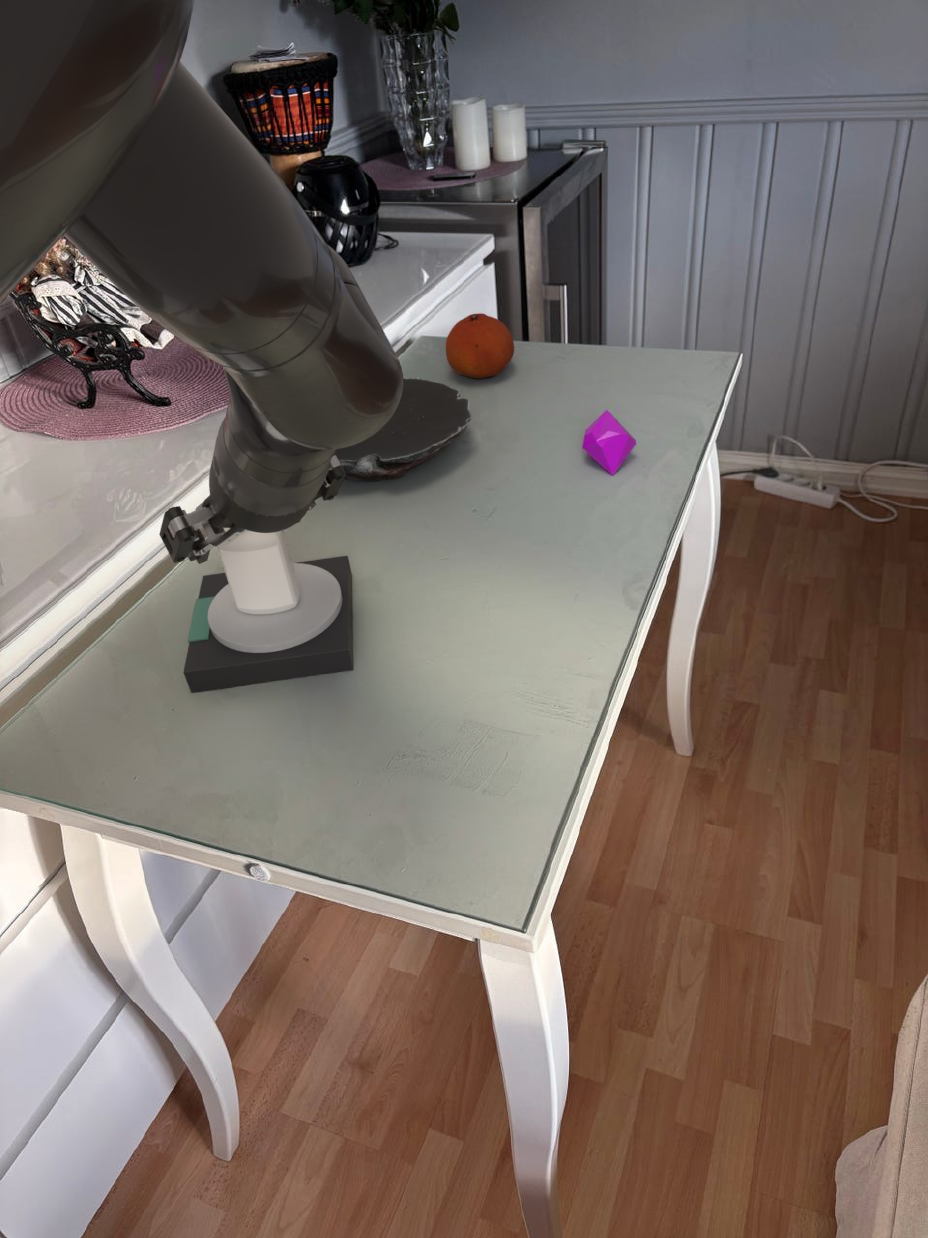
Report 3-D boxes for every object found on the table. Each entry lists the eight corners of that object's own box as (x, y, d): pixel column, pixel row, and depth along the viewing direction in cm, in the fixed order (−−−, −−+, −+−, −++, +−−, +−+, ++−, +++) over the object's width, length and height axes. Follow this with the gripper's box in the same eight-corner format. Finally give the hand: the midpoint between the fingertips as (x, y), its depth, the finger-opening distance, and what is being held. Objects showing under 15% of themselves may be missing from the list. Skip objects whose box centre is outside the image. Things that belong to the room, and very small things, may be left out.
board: (344, 403, 119) (337, 366, 116) (501, 417, 112) (498, 378, 109) (256, 490, 104) (245, 450, 101) (431, 513, 96) (426, 471, 93)
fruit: (441, 388, 120) (434, 329, 115) (459, 359, 127) (453, 302, 121) (506, 390, 118) (502, 330, 113) (521, 361, 124) (518, 303, 119)
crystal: (576, 461, 102) (575, 424, 99) (610, 443, 104) (610, 406, 101) (609, 477, 99) (609, 439, 96) (644, 458, 101) (645, 421, 98)
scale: (189, 693, 78) (179, 665, 76) (208, 595, 89) (199, 568, 87) (353, 670, 78) (346, 641, 76) (351, 575, 89) (346, 548, 87)
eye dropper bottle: (278, 625, 79) (244, 508, 71) (229, 610, 81) (191, 494, 74) (309, 597, 81) (279, 480, 74) (260, 582, 84) (227, 468, 76)
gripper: (197, 551, 59) (185, 606, 74) (385, 473, 65) (338, 539, 80) (145, 449, 59) (143, 525, 74) (336, 380, 65) (299, 463, 80)
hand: (244, 532), depth 77 cm, fingers open, 8 cm apart
